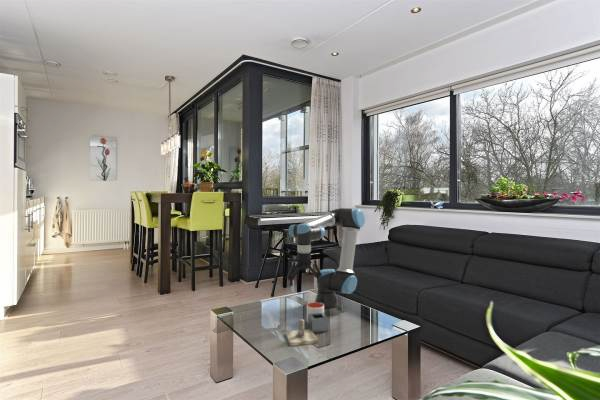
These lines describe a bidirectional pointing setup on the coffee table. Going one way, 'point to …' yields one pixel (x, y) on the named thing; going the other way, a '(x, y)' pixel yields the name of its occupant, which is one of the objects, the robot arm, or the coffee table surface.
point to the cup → (314, 308)
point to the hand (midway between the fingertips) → (304, 290)
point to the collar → (318, 322)
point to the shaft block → (301, 335)
